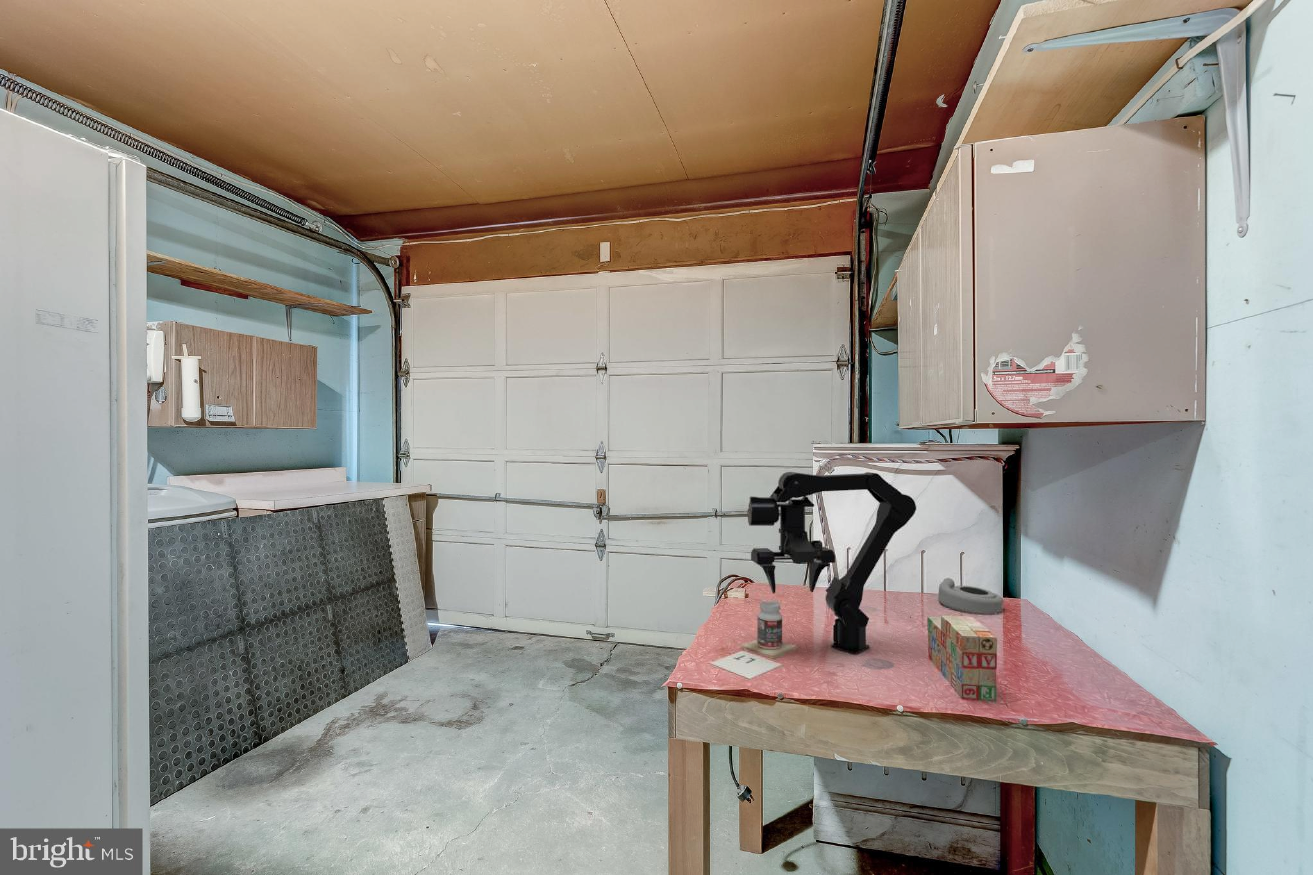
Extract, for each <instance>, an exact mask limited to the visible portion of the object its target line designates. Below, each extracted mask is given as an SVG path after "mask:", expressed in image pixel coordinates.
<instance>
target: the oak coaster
mask: <svg viewBox="0 0 1313 875" xmlns="http://www.w3.org/2000/svg"><path fill="white" fill-rule="evenodd" d="M741 649H743V650H747V651H750V652H753V653H755V654H758V655H761V656H764V657H767V658H771V659H777V658H778V657H781V656H783V655H785V654H787V653H790V652H793V651H795V650H797V645H793V644H790V643H787V642H784V641H782V646H781V647H780V648H779V649H773V650H771V649H764V648H761V647H760V646H759V645H758V643H757V639H754V640H753V641H749V642H747V643H744V644H742V645H741Z"/></svg>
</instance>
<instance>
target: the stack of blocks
mask: <svg viewBox="0 0 1313 875" xmlns="http://www.w3.org/2000/svg"><path fill="white" fill-rule="evenodd" d="M926 620H927V623H926V624H927V625H926V626H927V627H926V628H927V646H928V647H927V648H928V649H927V651H928V652H927V653H928V658H929V660H930V661H931V662H932V664H933V665H934V666H935V668H936V669H937V670H938V671H939V673H940V674H941V675H942V676H943V677H944V678H945V680H946V681H947V682H948V683H949V685H950V686H951V688H952V687H953V688H954V689H953V688H952V689H953V691H954V692H955V693H956V694H957V695H958V697H959V696H960V697H959V698H960V699H961V700H968V699H972V700H971V701H984V700H987V701H988V702H997V691H998V690H997V689H998V687H997V669H998V651H997V650H998V637H997V636H996V635H994V634H993V633H992V632H991V630H990V629H988V628H987V627H986V626H984V625H983V624H982V623H980V622H979V621H978V620H976V619H975V618H974V617H972V616H963V615H962V616H960V615H956V616H955V615H940V616H927V619H926ZM987 701H986V702H987Z"/></svg>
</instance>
